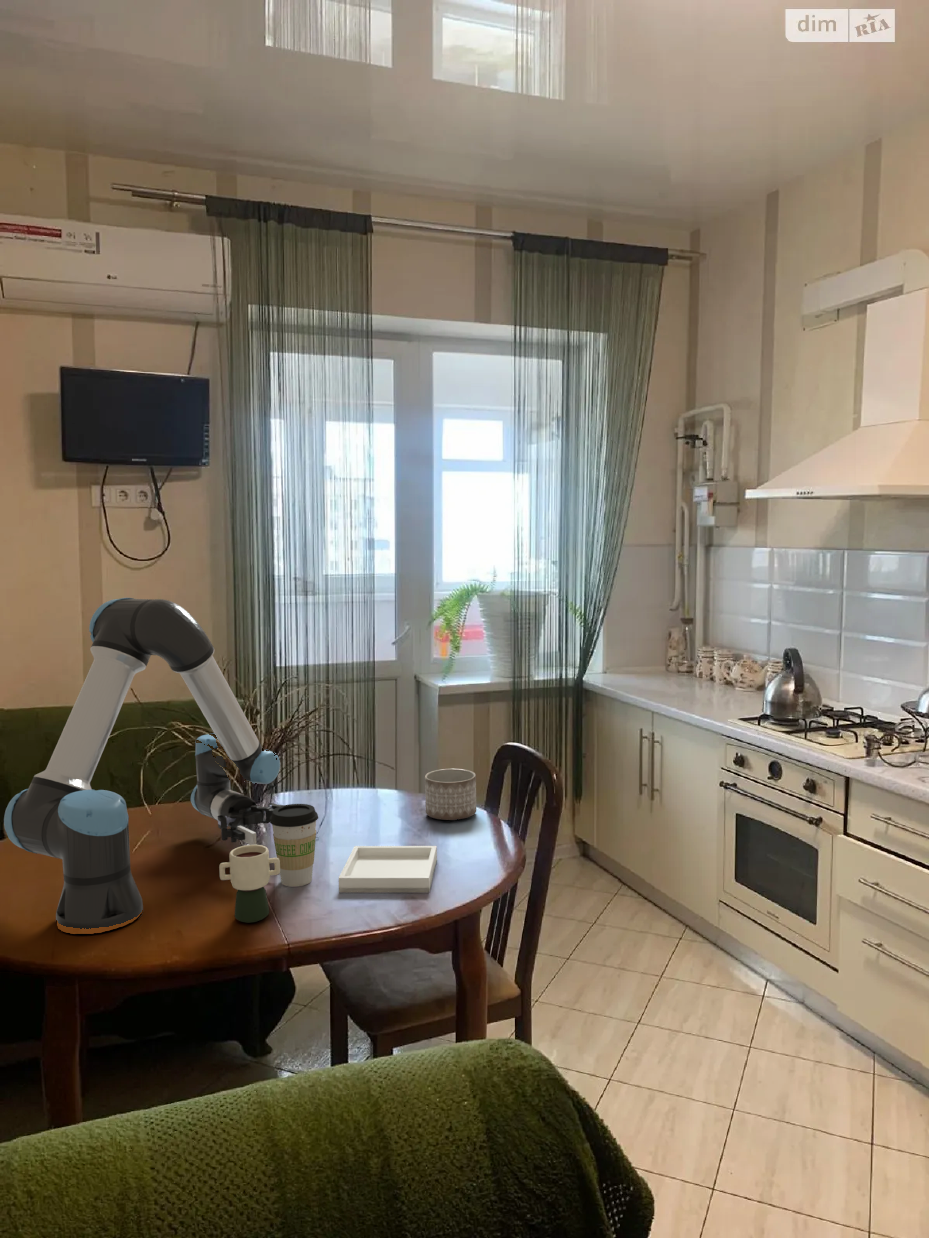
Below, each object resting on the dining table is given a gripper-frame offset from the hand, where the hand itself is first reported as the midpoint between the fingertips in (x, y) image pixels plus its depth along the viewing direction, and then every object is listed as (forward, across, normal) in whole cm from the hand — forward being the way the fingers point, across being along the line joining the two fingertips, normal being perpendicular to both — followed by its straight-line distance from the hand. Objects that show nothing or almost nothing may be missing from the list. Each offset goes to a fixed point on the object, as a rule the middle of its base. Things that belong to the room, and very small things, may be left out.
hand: (283, 831), depth 189 cm
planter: (-3, -50, -9) cm, 50 cm away
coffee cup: (+6, +1, -9) cm, 11 cm away
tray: (+17, -15, -9) cm, 24 cm away
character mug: (+15, +16, -9) cm, 24 cm away
